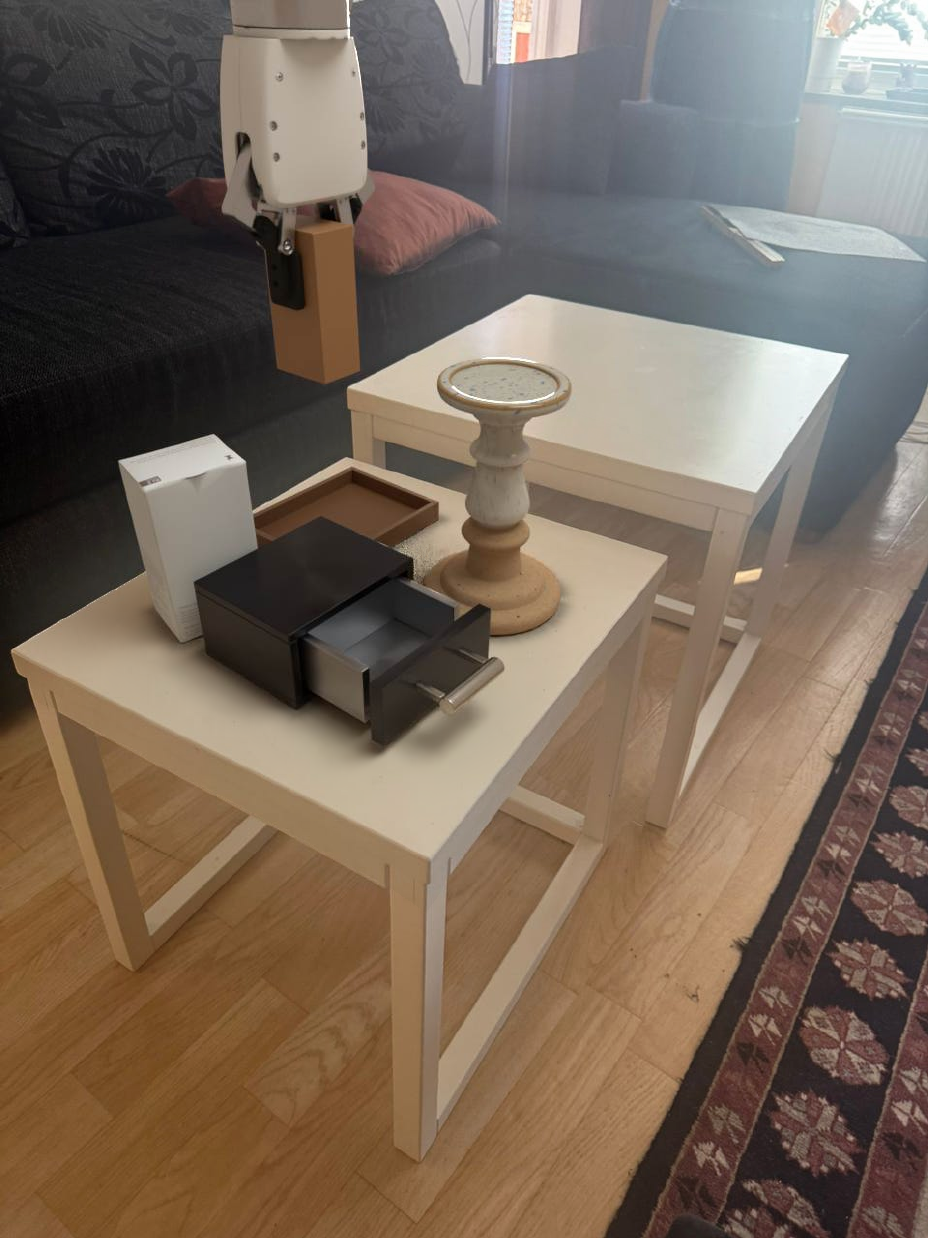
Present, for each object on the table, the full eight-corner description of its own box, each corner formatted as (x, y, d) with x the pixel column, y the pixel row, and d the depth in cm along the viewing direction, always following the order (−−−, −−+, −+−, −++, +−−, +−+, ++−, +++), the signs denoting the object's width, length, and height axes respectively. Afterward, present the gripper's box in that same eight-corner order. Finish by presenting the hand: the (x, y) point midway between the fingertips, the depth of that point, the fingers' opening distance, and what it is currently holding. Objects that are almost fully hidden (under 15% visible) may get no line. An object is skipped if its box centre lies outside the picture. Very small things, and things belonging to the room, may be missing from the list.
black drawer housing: (414, 628, 74) (413, 557, 70) (297, 710, 65) (288, 635, 61) (326, 583, 79) (320, 515, 75) (206, 654, 71) (192, 581, 66)
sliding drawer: (526, 681, 68) (531, 627, 64) (423, 771, 60) (424, 714, 56) (398, 617, 74) (398, 564, 71) (290, 690, 66) (284, 635, 63)
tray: (326, 586, 79) (324, 567, 78) (237, 541, 85) (234, 522, 84) (438, 519, 89) (439, 501, 88) (352, 483, 95) (352, 466, 94)
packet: (324, 385, 67) (313, 233, 61) (276, 368, 70) (260, 222, 64) (360, 371, 70) (352, 224, 64) (312, 356, 73) (300, 213, 66)
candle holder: (398, 610, 76) (394, 389, 64) (462, 547, 85) (469, 342, 73) (526, 653, 72) (547, 425, 60) (580, 581, 81) (607, 370, 69)
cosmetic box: (240, 582, 79) (217, 429, 70) (270, 614, 75) (250, 457, 66) (149, 613, 75) (114, 454, 66) (177, 648, 71) (143, 485, 62)
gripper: (340, 8, 63) (352, 269, 74) (144, 6, 53) (191, 313, 63) (418, 12, 60) (418, 287, 71) (225, 12, 49) (260, 336, 60)
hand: (311, 296), depth 67 cm, fingers closed on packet, 4 cm apart
